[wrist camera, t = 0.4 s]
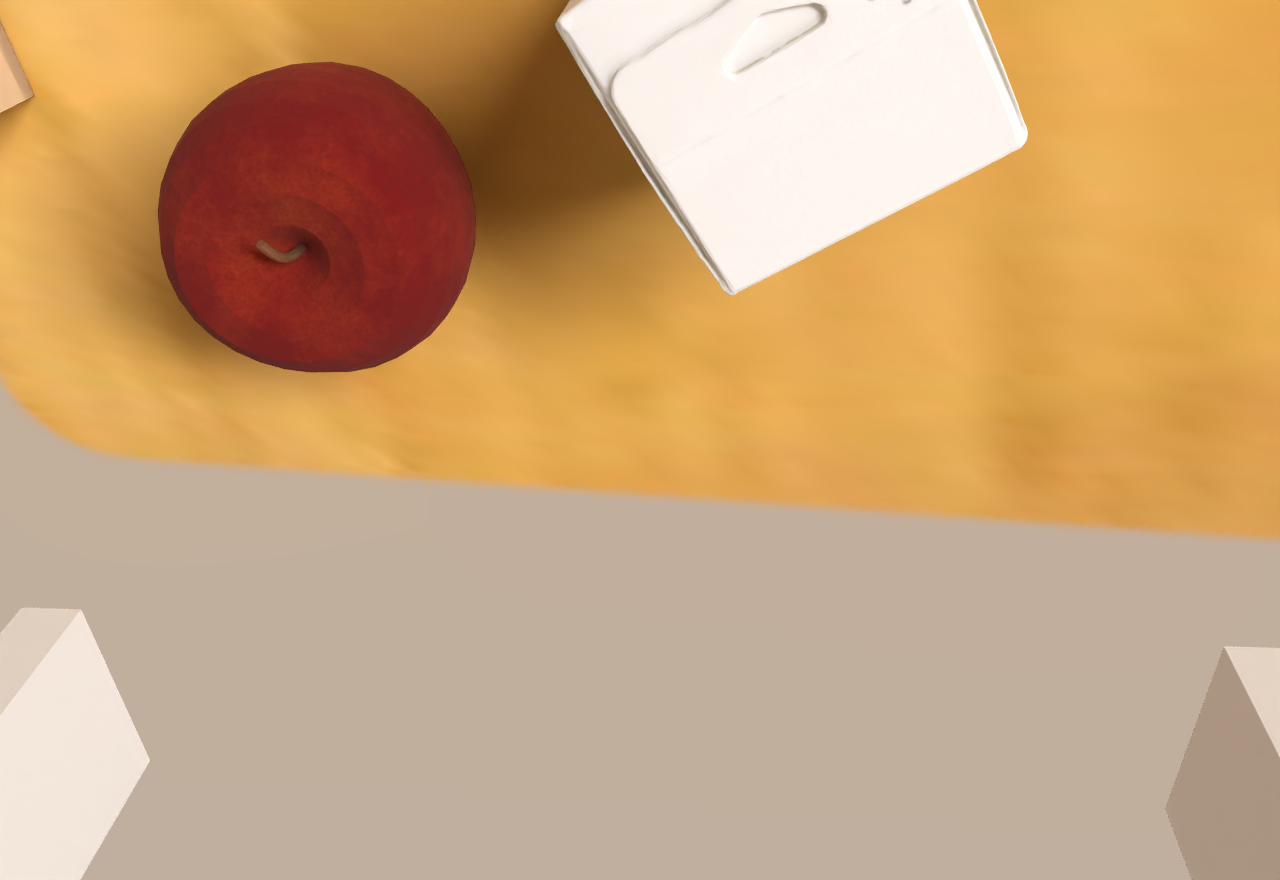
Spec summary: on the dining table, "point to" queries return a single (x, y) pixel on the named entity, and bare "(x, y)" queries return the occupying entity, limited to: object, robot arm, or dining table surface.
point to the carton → (11, 76)
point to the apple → (317, 219)
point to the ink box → (794, 113)
